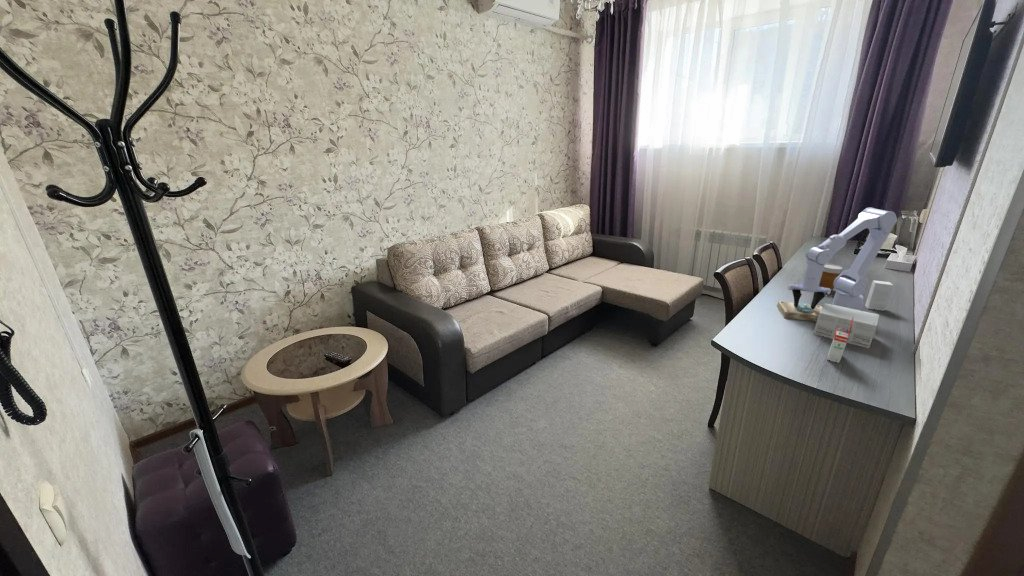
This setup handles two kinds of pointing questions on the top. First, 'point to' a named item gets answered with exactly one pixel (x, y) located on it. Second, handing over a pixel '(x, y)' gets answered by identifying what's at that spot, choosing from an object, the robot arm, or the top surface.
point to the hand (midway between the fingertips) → (803, 307)
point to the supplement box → (847, 324)
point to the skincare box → (879, 295)
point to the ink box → (839, 343)
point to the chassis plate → (791, 312)
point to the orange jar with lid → (829, 275)
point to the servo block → (803, 307)
